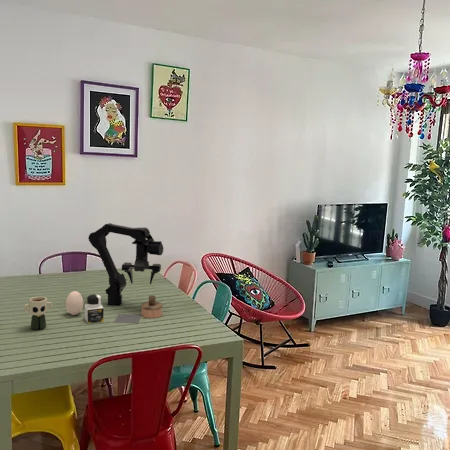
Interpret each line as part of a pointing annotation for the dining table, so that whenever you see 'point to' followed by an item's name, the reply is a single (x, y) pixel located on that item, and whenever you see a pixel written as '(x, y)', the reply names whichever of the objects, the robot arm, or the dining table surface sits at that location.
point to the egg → (74, 303)
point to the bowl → (151, 313)
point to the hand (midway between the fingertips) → (141, 283)
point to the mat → (127, 318)
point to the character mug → (38, 311)
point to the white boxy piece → (94, 309)
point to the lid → (151, 304)
